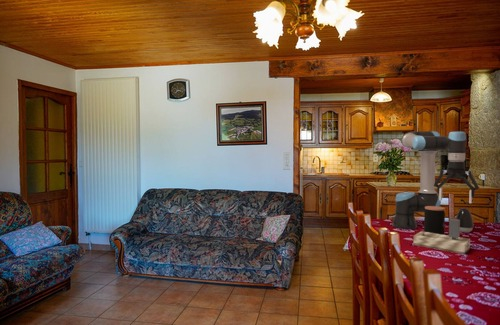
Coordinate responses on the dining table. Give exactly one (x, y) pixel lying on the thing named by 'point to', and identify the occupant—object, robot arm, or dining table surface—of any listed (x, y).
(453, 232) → the metal peg
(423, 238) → the keyhole plate
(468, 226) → the dark grey egg shape
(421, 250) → the dining table surface
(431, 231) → the coffee jar
